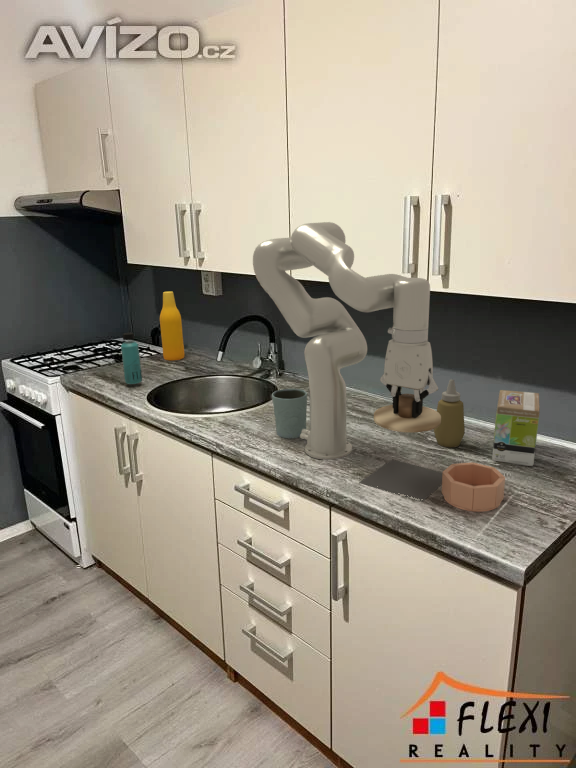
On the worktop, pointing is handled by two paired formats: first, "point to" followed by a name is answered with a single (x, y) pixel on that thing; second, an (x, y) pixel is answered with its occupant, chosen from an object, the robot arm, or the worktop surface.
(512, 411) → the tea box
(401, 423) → the lid
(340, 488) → the worktop surface
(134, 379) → the beverage bottle
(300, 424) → the blue-green cup
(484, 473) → the bowl
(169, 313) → the beer bottle
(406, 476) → the mat
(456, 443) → the squeeze bottle
